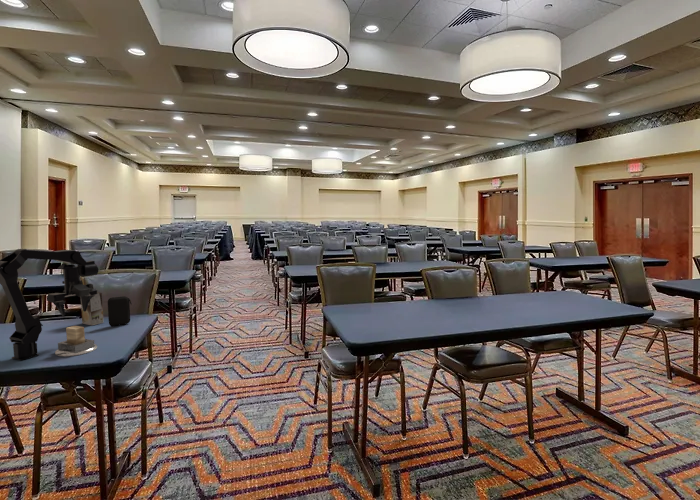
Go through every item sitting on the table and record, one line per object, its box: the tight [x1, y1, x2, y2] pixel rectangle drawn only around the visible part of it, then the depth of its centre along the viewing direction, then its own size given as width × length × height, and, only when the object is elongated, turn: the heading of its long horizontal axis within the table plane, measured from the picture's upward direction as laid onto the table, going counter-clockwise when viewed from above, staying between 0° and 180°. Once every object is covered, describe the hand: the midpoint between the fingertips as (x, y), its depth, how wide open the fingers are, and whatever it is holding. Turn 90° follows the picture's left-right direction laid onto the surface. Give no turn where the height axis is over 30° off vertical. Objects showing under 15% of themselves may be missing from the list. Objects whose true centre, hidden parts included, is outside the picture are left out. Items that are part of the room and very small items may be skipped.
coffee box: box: [80, 292, 104, 326], centre depth 212 cm, size 9×6×16 cm
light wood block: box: [65, 325, 86, 345], centre depth 168 cm, size 4×6×9 cm, turn 67°
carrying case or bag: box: [107, 295, 132, 327], centre depth 208 cm, size 11×3×15 cm, turn 127°
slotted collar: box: [54, 338, 98, 358], centre depth 169 cm, size 14×14×4 cm
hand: (74, 313), depth 178 cm, fingers open, 9 cm apart
